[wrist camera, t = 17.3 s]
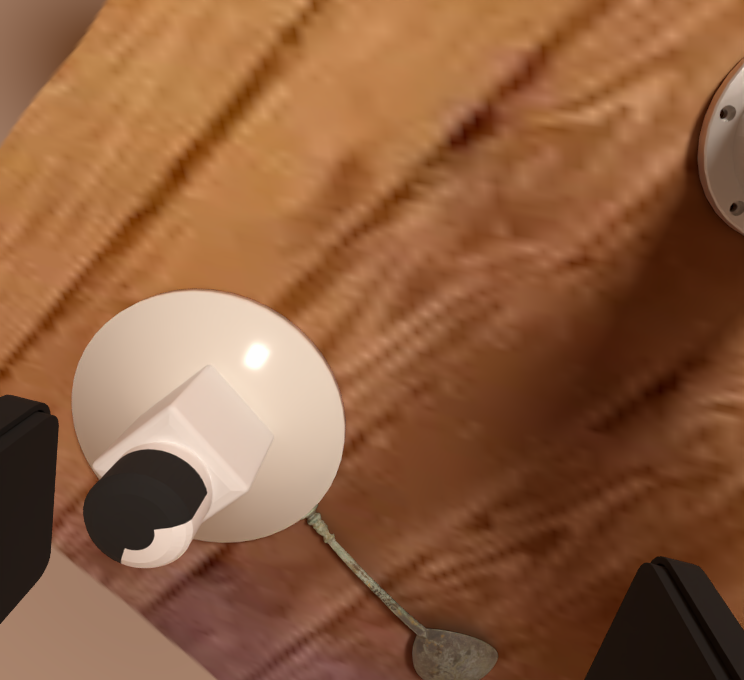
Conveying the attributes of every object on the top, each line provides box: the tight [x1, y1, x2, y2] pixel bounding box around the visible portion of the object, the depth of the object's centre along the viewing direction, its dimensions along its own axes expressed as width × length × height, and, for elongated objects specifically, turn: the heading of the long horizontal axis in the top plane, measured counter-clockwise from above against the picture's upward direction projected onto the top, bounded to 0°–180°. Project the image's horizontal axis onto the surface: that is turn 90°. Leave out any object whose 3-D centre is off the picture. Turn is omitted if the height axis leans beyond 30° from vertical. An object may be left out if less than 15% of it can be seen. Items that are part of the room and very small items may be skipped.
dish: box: [72, 288, 346, 543], centre depth 42 cm, size 20×20×1 cm
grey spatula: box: [300, 504, 498, 680], centre depth 46 cm, size 22×3×7 cm
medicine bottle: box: [83, 365, 274, 568], centre depth 36 cm, size 7×7×12 cm
